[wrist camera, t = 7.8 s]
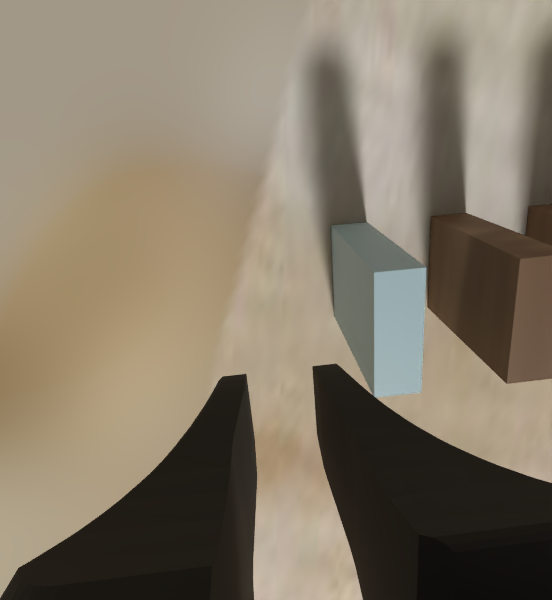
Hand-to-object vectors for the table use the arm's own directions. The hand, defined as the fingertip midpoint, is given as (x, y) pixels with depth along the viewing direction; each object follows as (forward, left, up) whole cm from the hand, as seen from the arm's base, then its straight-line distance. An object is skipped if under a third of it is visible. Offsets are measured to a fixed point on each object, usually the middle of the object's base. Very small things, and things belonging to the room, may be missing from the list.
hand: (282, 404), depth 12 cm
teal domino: (-4, 0, -10) cm, 11 cm away
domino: (-9, 0, -10) cm, 13 cm away
